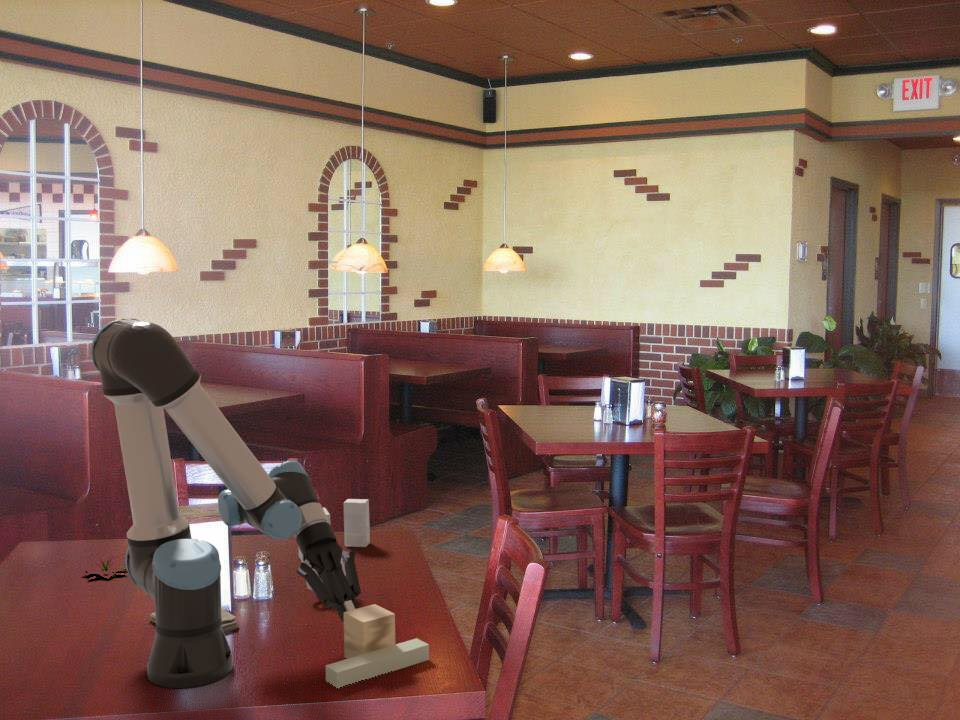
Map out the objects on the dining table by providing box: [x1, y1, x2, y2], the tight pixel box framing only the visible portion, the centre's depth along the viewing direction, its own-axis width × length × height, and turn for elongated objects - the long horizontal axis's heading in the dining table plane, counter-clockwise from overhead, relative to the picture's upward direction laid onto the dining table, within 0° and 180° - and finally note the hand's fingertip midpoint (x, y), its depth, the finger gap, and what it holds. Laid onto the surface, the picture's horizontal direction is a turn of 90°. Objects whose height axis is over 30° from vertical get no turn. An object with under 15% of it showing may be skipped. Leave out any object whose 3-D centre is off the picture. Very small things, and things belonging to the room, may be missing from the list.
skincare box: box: [342, 498, 371, 548], centre depth 261 cm, size 6×4×12 cm
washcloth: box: [148, 607, 240, 634], centre depth 205 cm, size 12×18×3 cm, turn 47°
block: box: [343, 603, 396, 659], centre depth 187 cm, size 7×7×9 cm
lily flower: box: [95, 555, 125, 576], centre depth 238 cm, size 12×12×5 cm
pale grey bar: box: [325, 637, 430, 689], centre depth 182 cm, size 20×4×3 cm, turn 129°
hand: (358, 633), depth 191 cm, fingers closed
